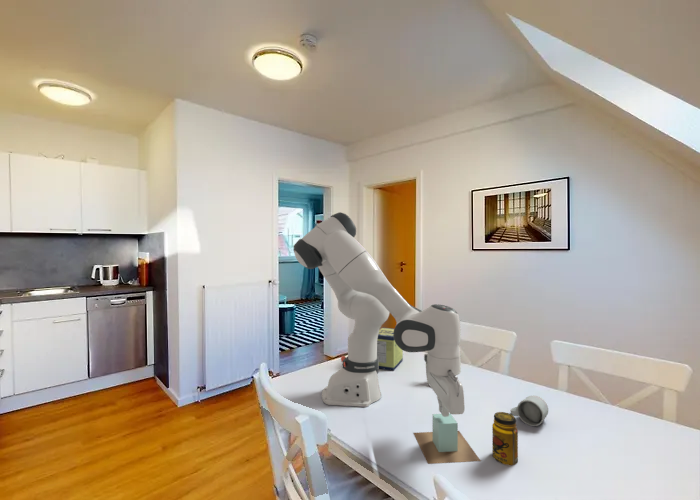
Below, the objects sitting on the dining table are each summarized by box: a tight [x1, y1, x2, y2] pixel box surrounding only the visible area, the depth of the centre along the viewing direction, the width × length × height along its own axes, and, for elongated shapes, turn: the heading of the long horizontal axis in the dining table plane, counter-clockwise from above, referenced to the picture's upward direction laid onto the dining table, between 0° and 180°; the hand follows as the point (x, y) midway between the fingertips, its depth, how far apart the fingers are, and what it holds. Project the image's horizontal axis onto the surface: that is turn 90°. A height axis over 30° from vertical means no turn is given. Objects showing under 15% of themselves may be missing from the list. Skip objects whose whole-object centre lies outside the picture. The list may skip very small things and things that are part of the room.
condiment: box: [491, 411, 519, 466], centre depth 87 cm, size 7×8×12 cm
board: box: [413, 430, 482, 465], centre depth 91 cm, size 14×14×1 cm
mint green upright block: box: [432, 413, 459, 452], centre depth 91 cm, size 5×5×8 cm
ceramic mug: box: [510, 395, 549, 427], centre depth 108 cm, size 11×8×8 cm
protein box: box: [377, 327, 404, 372], centre depth 158 cm, size 10×16×16 cm
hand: (443, 414), depth 91 cm, fingers closed
